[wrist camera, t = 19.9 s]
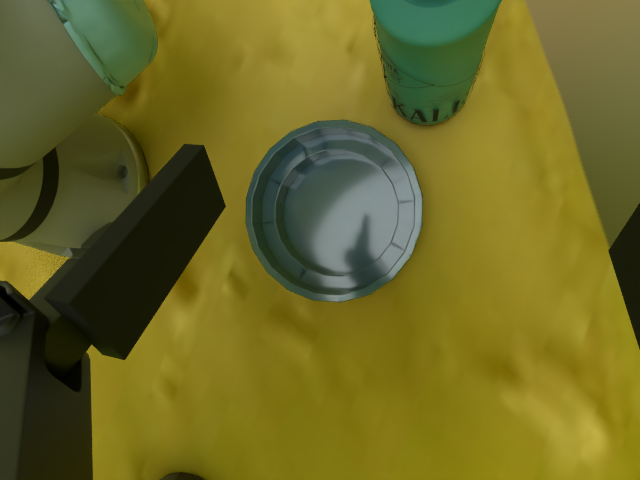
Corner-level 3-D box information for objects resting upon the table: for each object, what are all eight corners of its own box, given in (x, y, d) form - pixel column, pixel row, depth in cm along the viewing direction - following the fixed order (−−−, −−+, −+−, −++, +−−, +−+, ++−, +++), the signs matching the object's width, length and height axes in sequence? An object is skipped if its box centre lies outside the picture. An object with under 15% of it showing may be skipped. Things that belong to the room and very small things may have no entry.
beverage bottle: (433, 39, 32) (454, -260, 13) (487, 96, 31) (600, -136, 12) (373, 94, 33) (309, -100, 14) (423, 150, 32) (428, 24, 13)
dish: (239, 229, 37) (214, 229, 32) (325, 104, 34) (311, 85, 30) (355, 325, 34) (345, 339, 30) (457, 196, 32) (463, 190, 27)
